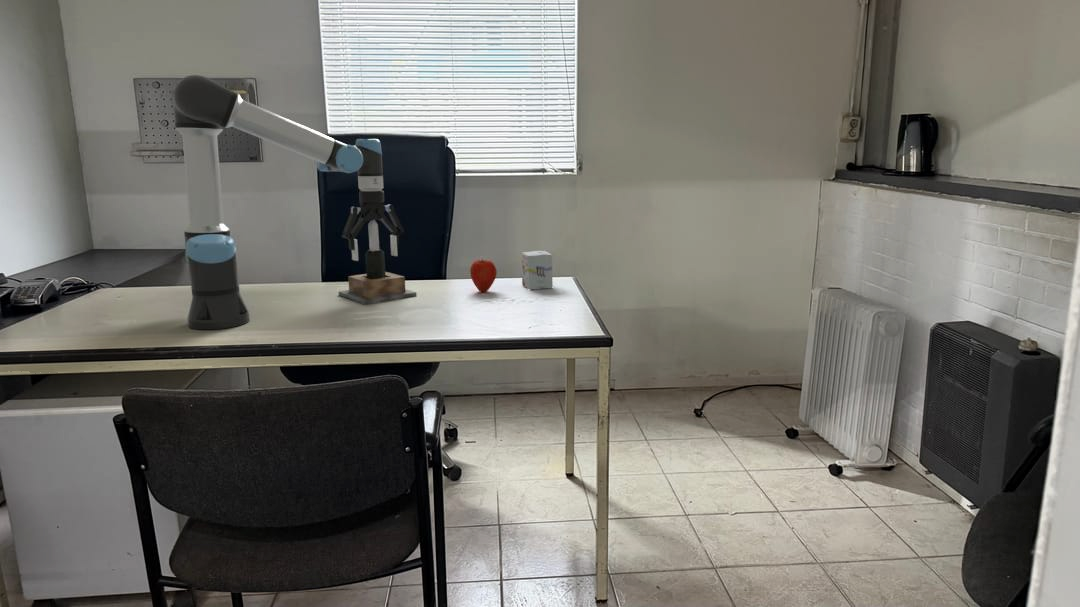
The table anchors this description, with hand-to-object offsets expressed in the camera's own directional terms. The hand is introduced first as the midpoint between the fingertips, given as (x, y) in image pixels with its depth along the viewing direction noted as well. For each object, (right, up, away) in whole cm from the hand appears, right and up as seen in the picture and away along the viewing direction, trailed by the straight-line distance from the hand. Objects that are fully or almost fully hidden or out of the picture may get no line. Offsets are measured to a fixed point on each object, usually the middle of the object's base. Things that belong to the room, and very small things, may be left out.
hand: (375, 257), depth 216 cm
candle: (0, -11, +2) cm, 11 cm away
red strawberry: (+34, -11, +8) cm, 36 cm away
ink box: (+51, -9, +15) cm, 54 cm away
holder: (0, -12, +3) cm, 12 cm away
